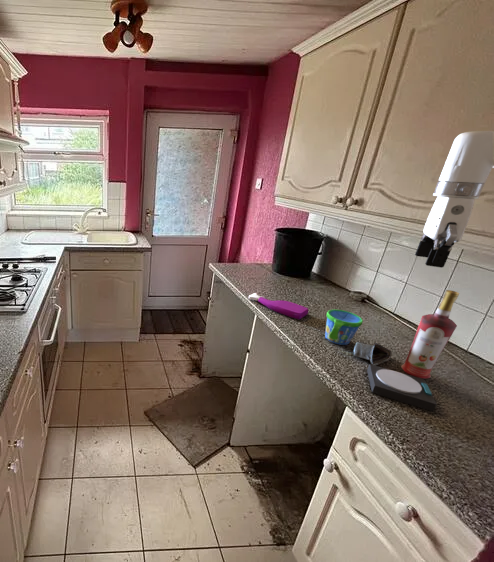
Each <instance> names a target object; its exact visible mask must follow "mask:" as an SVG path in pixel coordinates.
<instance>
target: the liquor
mask: <svg viewBox="0 0 494 562" xmlns="http://www.w3.org/2000/svg"><path fill="white" fill-rule="evenodd" d="M459 295H460V292H458V291H455V290H450V289H446V290H445V292H444V294H443V296H442V300H441V302H440V304H439V305H438V307H437V309H436V310H435V312H434V313H429V314H428V313H427V314H424V315H422V316H421V318H420V321H419V324H418V326H417V329H416V332H415V334H414V337H413V341H412V343H411V346H410V349H409V351H408V354H407V357H406V359H405V362H404V363H403V364H401V366H400V367H401V369H402V370H403V373H404V374H407V375H411V376H415V377H418V378H422V379H425V380H426V379H430V378H431V377H432V375H431V373H432V370H433V368H434V367H435V365H436V363H437V361H438V359H439V358H440V356H441V354H442V352H444V349H445V348H446V346H447V345H448V343H449V341H450V340H451V338H452V336H453V334H454V333H455V330H456V329H457V327H458V325H457V324H456V322H455V321H454V320H452V319H451V318H450V315H451V313H452V308H453V306H454V303H455V302H456V301H457V299H458V298H459Z"/></svg>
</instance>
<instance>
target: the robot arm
mask: <svg viewBox="0 0 494 562" xmlns="http://www.w3.org/2000/svg"><path fill="white" fill-rule="evenodd" d="M492 169H494V130H473V131H464V132H461V133H460V134H458V135H457V136H456V137H455V138H454V140H453V142H452V144H451V148H450V150H449V153H448V155H447V158H446V160H445V162H444V166H443V168H442V170H441V173H440V176H439V178H438V181H437V182H436V185H435V188H434V191H433V194H432V196H433V197H436V199H435V201H434V202H433V205H432V207H431V209H430V212H429V214H428V216H427V218H426V221H425V224H424V227H423V231H422V232H423V234H422V236H421V238H420V241H419V242H418V246H417V248H416V251H415V254H414V255H415V256H416V257H419V258H420V257H421V258H426V261H425V263H424V264H425V266H427V267H434V268H444V267H445V265H446V263H447V260H448V258H449V256H450V253H451V252H452V250H453V246H455V243H459V242H460V241H462V239H463V236H464V234H465V231H466V229H467V226H468V224H469V221H470V217H471V215H472V212H473V209H474V204H475V200H478V199H479V198H480V196H481V193H482V192H483V189H484V187H485V184H486V182H487V180H488V177H489V176H490V173H491V171H492Z"/></svg>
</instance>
